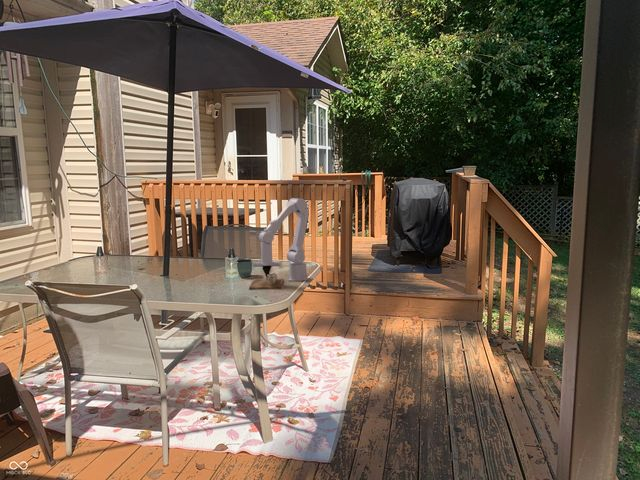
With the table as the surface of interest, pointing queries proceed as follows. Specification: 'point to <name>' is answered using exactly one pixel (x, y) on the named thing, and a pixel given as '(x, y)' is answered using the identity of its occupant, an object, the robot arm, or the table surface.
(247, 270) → the flower pot
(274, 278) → the link
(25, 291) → the table surface
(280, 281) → the hinge board
